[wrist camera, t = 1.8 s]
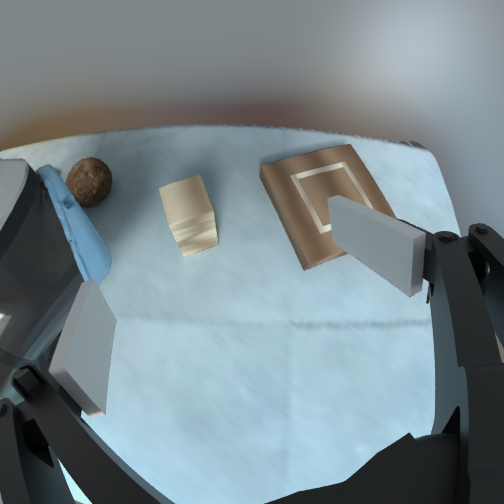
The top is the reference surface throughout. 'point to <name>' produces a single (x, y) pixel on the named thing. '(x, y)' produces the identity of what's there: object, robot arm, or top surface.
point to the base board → (318, 197)
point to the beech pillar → (189, 214)
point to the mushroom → (89, 181)
